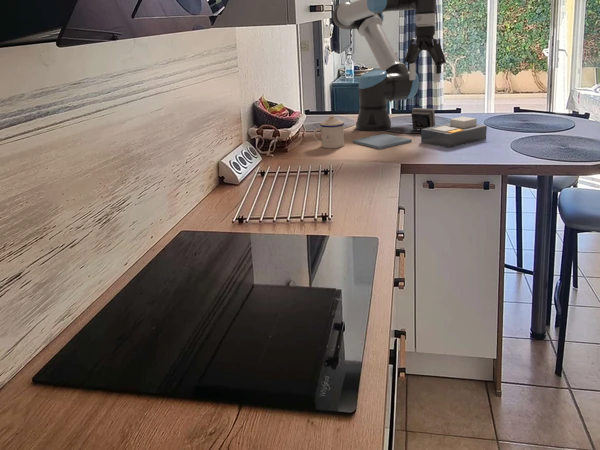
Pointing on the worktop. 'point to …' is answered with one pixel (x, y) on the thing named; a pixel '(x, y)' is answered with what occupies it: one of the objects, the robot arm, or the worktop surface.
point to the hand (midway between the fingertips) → (424, 81)
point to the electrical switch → (423, 118)
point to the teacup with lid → (331, 133)
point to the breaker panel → (453, 135)
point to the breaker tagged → (444, 129)
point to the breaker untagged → (463, 122)
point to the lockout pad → (382, 141)
